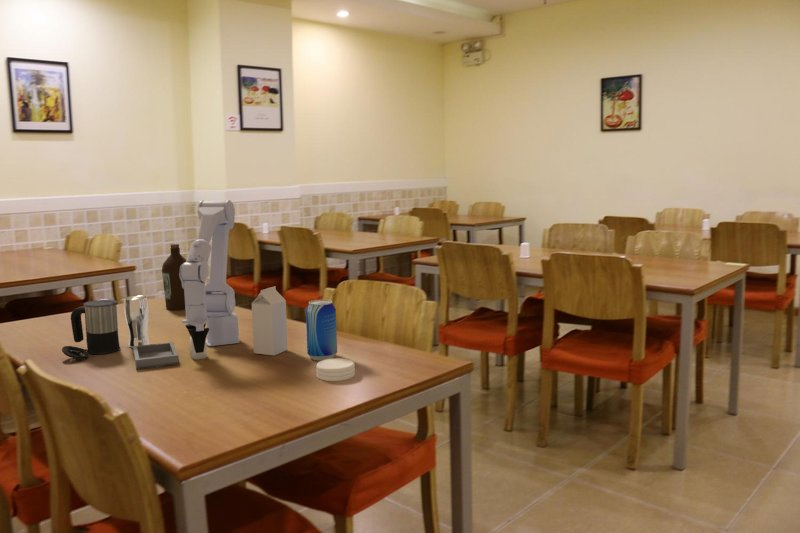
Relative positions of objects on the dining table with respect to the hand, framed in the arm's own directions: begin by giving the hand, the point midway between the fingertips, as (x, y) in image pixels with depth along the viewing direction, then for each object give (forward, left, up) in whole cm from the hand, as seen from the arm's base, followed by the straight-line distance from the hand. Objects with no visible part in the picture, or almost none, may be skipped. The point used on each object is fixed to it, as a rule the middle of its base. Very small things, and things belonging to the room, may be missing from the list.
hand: (198, 350), depth 192 cm
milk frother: (+28, -18, -2) cm, 33 cm away
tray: (+11, -3, -2) cm, 12 cm away
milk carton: (-20, +4, -2) cm, 21 cm away
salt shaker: (0, 0, -2) cm, 2 cm away
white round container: (-30, +34, -2) cm, 45 cm away
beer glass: (+15, -22, -2) cm, 27 cm away
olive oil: (-2, -76, -2) cm, 76 cm away
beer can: (-32, +16, -2) cm, 36 cm away
